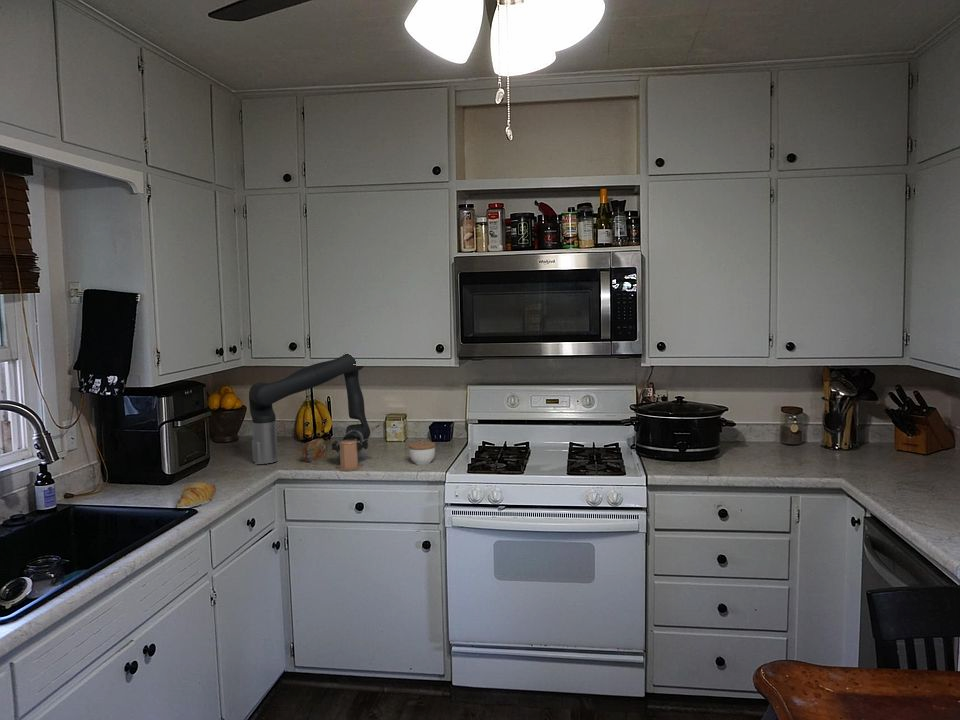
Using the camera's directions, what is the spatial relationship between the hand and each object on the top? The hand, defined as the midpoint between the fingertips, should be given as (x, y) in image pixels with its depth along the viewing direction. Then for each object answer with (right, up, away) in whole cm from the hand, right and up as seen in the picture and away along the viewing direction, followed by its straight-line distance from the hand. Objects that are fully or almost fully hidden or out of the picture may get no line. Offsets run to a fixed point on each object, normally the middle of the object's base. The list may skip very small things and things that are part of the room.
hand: (347, 448), depth 270 cm
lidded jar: (+29, -7, +8) cm, 30 cm away
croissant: (-44, -13, -38) cm, 60 cm away
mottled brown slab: (-17, -7, +18) cm, 26 cm away
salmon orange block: (0, -7, +3) cm, 8 cm away
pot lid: (0, -8, +3) cm, 8 cm away
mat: (-1, -6, +18) cm, 19 cm away
